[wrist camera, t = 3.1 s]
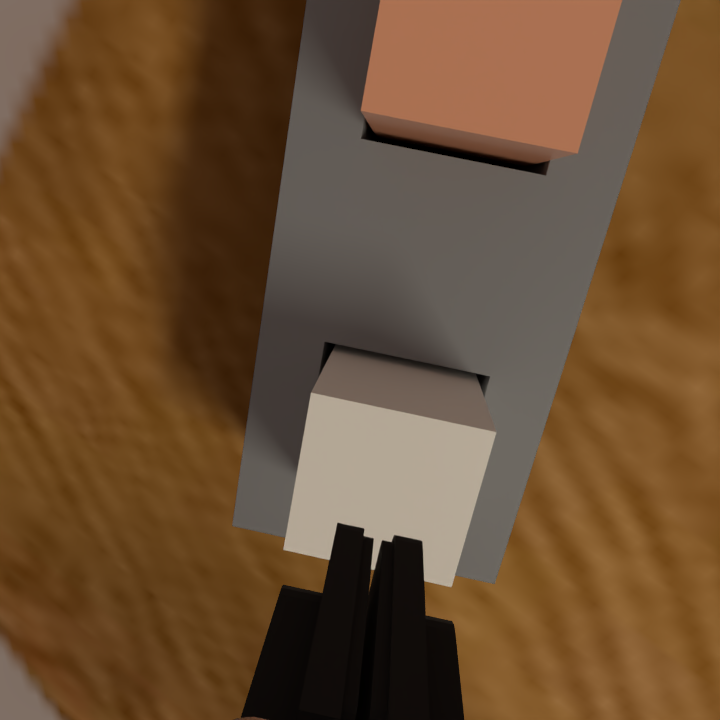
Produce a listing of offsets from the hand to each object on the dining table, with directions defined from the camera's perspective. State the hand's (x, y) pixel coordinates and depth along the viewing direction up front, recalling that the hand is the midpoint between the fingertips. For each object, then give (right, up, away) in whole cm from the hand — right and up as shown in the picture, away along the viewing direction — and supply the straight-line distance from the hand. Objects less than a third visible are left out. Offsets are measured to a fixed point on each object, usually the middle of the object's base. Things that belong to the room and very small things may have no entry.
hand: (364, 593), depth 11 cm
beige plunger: (+1, +2, +10) cm, 11 cm away
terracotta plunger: (+3, +14, +7) cm, 16 cm away
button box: (+3, +9, +12) cm, 16 cm away
